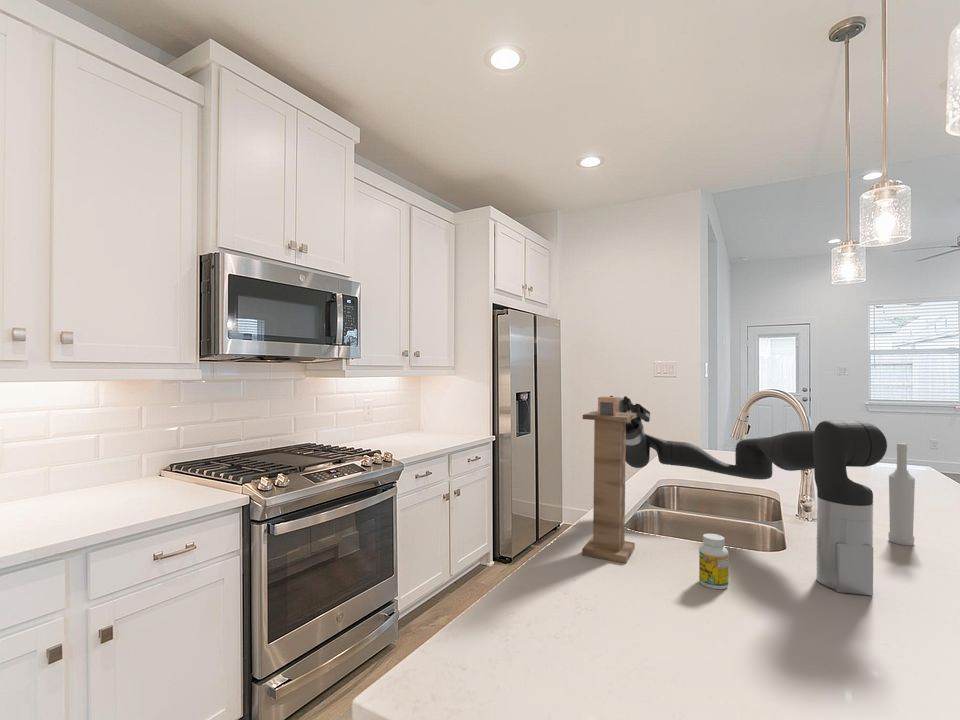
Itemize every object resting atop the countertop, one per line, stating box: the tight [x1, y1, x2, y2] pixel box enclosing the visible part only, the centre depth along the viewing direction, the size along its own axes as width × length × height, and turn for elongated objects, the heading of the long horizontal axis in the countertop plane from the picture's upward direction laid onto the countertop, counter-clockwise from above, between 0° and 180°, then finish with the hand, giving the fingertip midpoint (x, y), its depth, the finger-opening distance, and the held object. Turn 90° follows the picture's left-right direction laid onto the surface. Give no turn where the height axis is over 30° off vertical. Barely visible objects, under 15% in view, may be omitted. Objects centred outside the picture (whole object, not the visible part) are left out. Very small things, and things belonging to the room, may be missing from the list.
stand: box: [581, 410, 637, 564], centre depth 119 cm, size 12×10×32 cm
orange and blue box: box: [597, 396, 627, 416], centre depth 124 cm, size 18×4×4 cm, turn 153°
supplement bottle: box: [698, 533, 729, 590], centre depth 102 cm, size 5×5×10 cm
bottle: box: [887, 442, 916, 546], centre depth 129 cm, size 5×5×25 cm
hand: (617, 399), depth 127 cm, fingers closed on orange and blue box, 3 cm apart
